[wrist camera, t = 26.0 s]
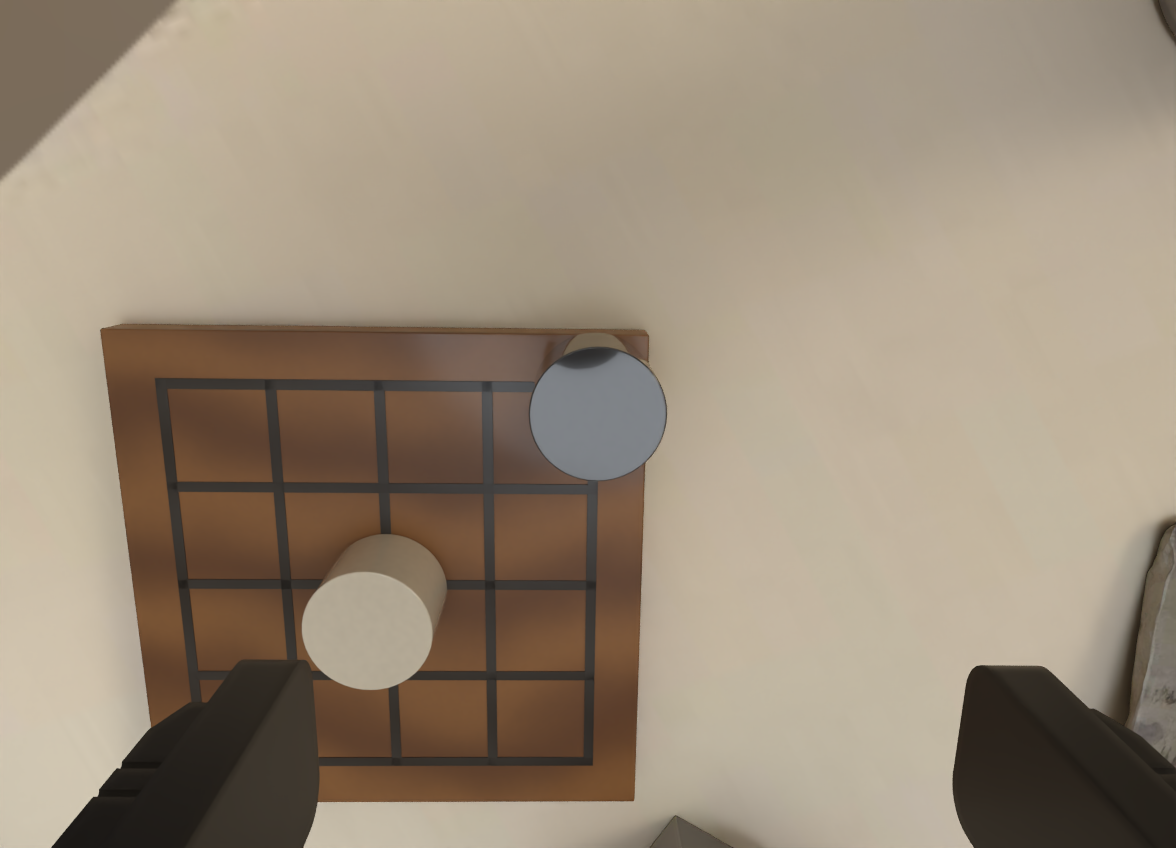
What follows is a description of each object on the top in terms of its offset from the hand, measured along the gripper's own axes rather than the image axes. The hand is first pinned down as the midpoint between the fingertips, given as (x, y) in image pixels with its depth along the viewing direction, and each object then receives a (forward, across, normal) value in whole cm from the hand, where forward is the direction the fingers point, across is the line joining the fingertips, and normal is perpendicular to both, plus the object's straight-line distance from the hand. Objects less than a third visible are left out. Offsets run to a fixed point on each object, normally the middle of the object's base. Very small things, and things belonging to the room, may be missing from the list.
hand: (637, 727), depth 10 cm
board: (+23, +8, +8) cm, 25 cm away
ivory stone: (+21, +8, +8) cm, 24 cm away
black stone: (+21, 0, 0) cm, 21 cm away
